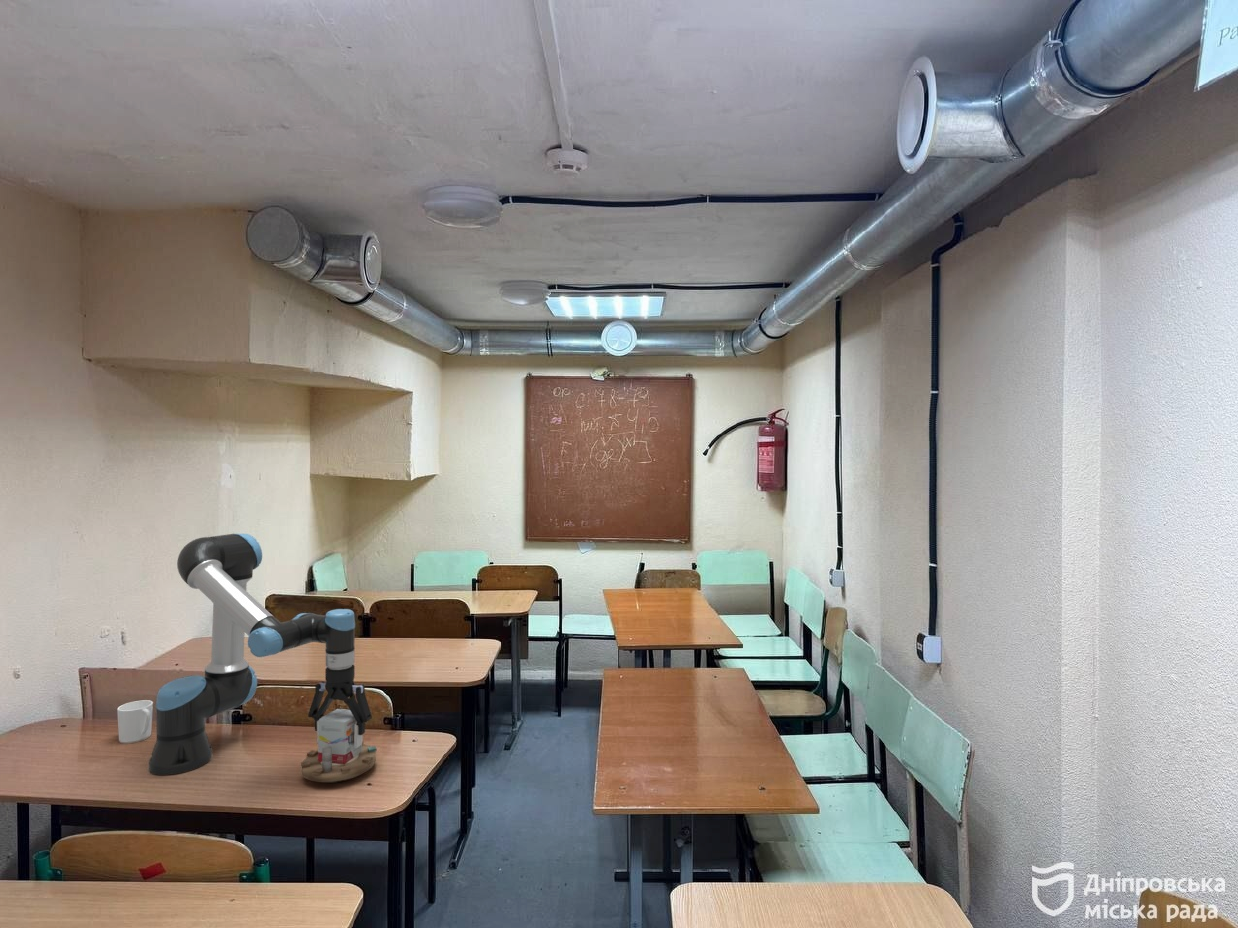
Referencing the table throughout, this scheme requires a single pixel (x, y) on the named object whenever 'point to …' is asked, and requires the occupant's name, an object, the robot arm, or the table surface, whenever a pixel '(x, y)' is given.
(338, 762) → the ink box
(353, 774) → the turntable
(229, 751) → the table surface
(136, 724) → the mug
